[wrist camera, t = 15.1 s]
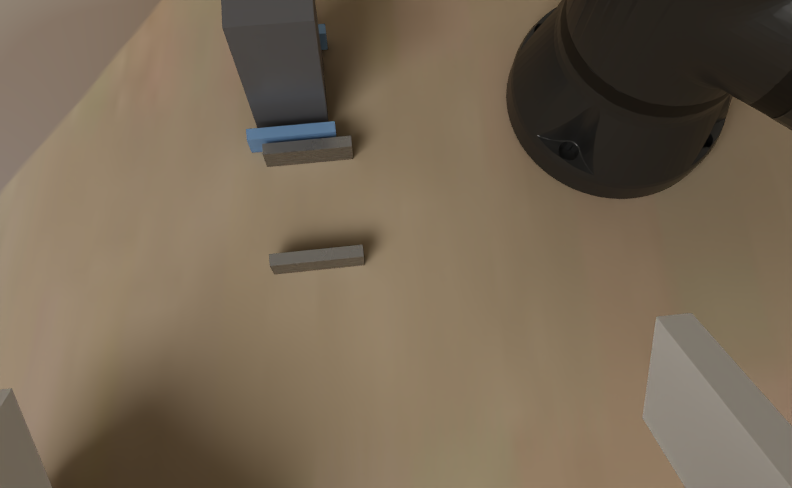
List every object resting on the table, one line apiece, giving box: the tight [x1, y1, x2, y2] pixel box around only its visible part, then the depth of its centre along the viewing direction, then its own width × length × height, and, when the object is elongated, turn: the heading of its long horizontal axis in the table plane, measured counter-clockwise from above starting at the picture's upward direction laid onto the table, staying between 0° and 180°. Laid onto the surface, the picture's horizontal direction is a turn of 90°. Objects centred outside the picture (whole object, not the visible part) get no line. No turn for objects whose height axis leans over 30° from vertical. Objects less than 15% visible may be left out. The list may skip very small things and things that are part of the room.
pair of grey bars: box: [262, 136, 364, 274], centre depth 46 cm, size 6×9×2 cm
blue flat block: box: [246, 24, 336, 153], centre depth 49 cm, size 6×9×2 cm
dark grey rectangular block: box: [221, 0, 328, 128], centre depth 44 cm, size 5×5×12 cm
